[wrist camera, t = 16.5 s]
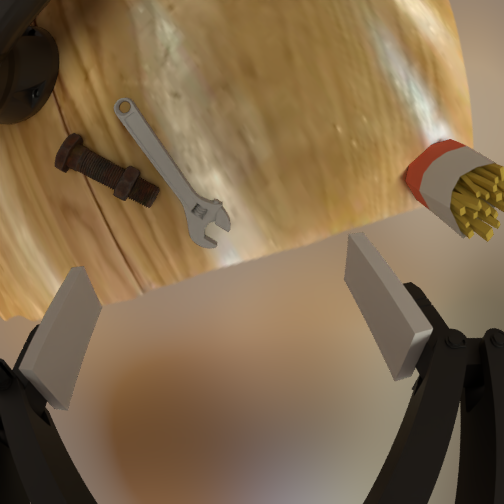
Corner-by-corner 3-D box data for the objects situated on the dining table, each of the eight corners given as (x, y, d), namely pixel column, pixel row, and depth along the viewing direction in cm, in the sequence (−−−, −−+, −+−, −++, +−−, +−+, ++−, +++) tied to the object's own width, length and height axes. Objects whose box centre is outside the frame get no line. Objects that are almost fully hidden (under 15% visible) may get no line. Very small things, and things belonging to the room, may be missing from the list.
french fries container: (396, 173, 43) (469, 227, 27) (440, 133, 39) (521, 171, 24) (408, 193, 44) (477, 252, 29) (451, 154, 41) (527, 198, 26)
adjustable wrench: (113, 104, 34) (108, 105, 33) (153, 79, 33) (150, 78, 32) (201, 247, 47) (200, 253, 45) (238, 229, 46) (239, 235, 44)
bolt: (157, 192, 43) (73, 148, 37) (168, 173, 39) (77, 125, 34) (142, 223, 40) (52, 175, 34) (152, 205, 36) (53, 153, 30)
